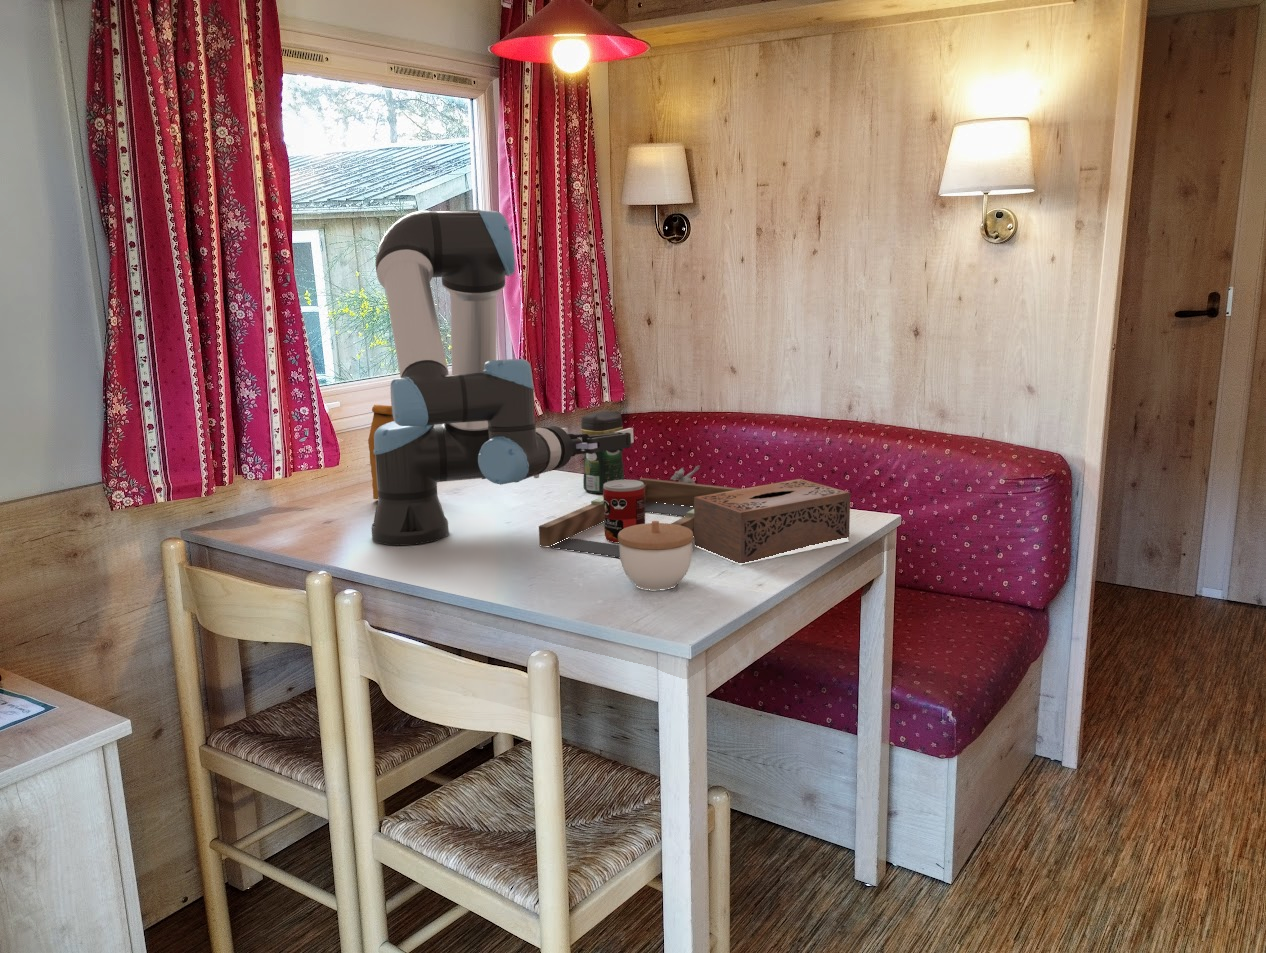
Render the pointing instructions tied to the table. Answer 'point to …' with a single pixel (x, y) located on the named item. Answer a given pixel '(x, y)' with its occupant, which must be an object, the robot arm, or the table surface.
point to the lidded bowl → (655, 554)
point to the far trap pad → (667, 508)
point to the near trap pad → (589, 547)
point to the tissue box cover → (770, 519)
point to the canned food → (622, 506)
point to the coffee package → (379, 418)
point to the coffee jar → (606, 462)
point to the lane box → (653, 493)
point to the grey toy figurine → (685, 479)
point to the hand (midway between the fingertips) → (598, 435)
